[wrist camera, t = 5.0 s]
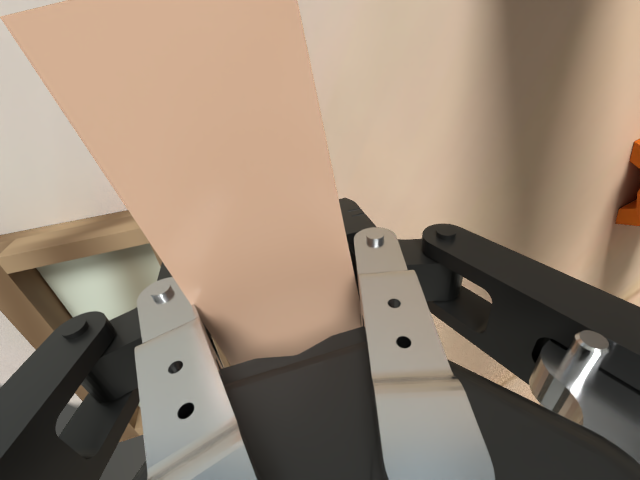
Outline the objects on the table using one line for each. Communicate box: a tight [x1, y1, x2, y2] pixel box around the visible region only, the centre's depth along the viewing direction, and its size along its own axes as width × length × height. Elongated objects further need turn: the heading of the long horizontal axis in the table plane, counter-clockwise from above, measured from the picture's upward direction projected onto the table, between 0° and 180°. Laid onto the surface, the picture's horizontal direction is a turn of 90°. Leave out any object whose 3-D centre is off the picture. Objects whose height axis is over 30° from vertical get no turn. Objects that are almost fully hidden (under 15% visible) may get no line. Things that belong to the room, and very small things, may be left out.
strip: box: [0, 0, 361, 366], centre depth 11 cm, size 4×14×6 cm, turn 14°
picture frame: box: [0, 210, 231, 442], centre depth 22 cm, size 10×18×3 cm, turn 6°
